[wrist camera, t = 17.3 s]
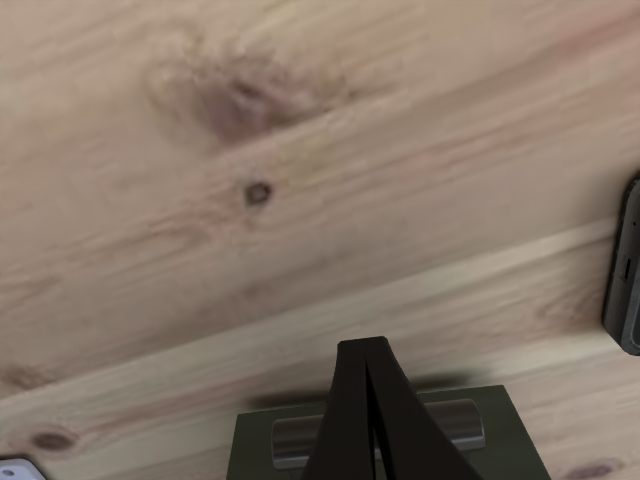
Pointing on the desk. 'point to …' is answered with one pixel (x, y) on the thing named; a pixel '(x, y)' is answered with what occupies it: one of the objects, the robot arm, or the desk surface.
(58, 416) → the desk surface
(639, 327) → the phone
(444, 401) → the drawer
